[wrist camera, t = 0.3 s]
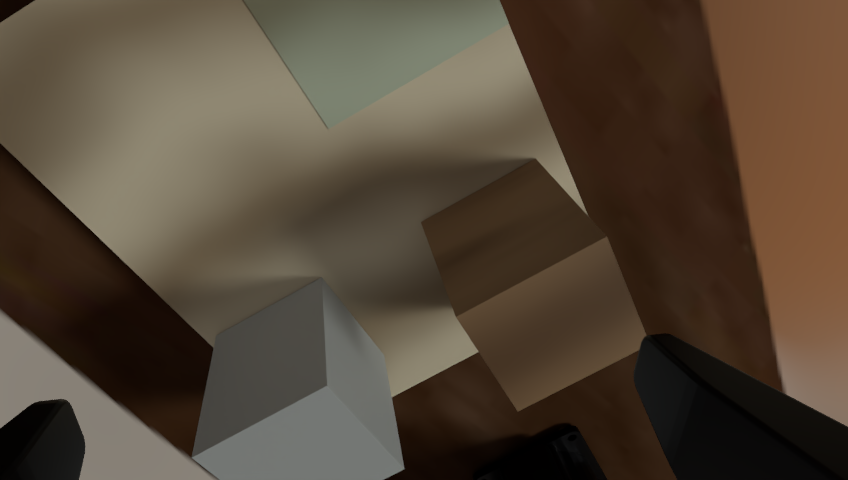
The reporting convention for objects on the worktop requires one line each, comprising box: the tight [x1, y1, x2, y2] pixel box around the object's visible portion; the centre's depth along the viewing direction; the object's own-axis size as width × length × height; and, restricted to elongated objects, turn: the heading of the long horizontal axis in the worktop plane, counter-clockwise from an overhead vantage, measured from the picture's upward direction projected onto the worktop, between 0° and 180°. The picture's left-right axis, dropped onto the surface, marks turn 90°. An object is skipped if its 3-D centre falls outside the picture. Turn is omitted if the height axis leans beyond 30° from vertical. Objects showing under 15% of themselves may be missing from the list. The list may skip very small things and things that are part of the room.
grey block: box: [192, 277, 404, 480], centre depth 22 cm, size 5×5×6 cm
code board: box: [0, 0, 588, 397], centre depth 22 cm, size 20×16×1 cm
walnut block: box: [421, 158, 646, 411], centre depth 21 cm, size 5×5×6 cm
